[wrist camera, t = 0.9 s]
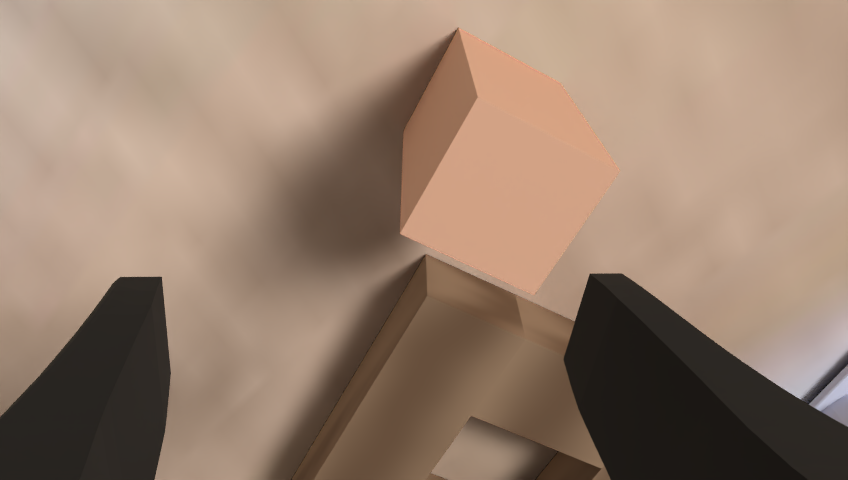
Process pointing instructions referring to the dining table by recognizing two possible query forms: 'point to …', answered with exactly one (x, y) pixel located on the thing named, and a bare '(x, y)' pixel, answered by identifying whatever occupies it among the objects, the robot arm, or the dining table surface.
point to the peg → (499, 165)
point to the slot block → (454, 384)
